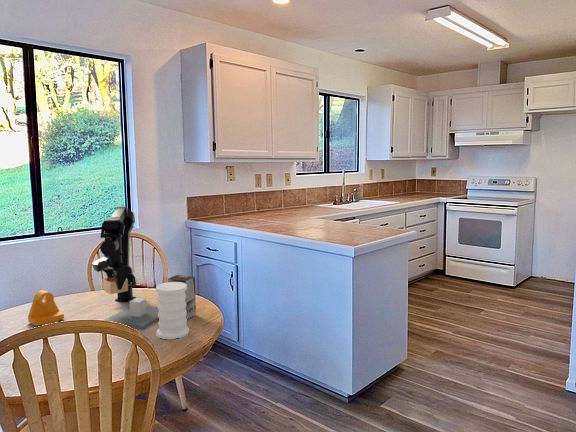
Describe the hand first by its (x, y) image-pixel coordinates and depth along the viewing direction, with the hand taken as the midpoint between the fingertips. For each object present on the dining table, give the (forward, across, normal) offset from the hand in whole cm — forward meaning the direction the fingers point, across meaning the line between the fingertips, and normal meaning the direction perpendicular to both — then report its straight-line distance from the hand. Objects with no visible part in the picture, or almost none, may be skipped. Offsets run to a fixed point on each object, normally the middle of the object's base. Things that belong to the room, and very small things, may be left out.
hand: (115, 287), depth 181 cm
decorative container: (+12, +34, +6) cm, 36 cm away
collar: (+1, 0, 0) cm, 1 cm away
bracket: (+12, -11, -23) cm, 28 cm away
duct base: (+11, +9, +5) cm, 15 cm away
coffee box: (+11, +20, +18) cm, 30 cm away
